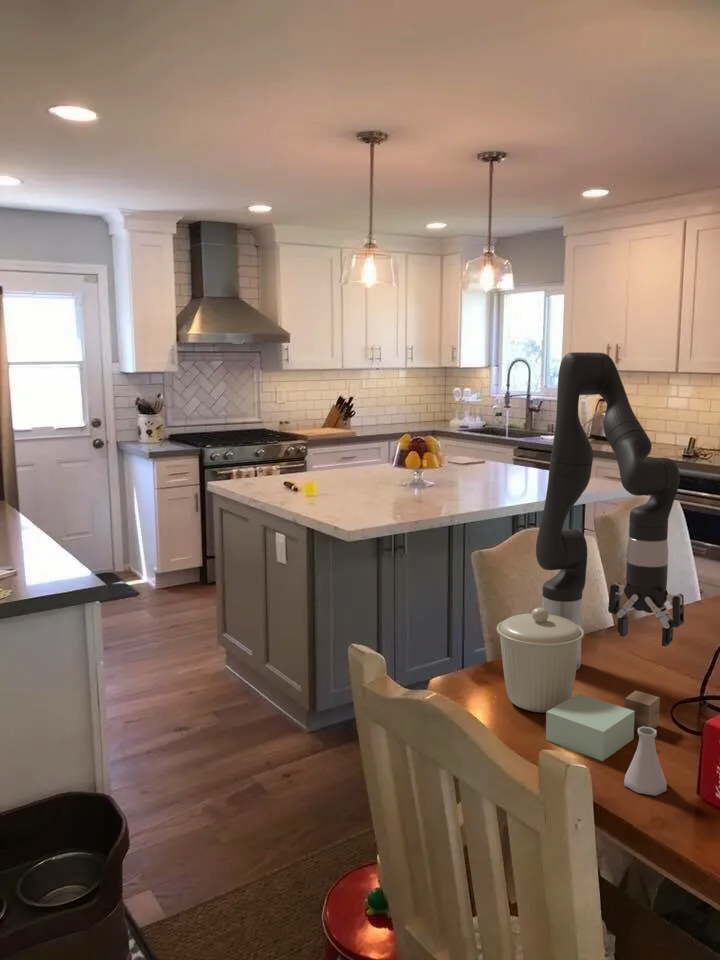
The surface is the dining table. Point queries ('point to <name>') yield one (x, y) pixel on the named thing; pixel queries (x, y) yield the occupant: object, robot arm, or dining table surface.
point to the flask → (646, 766)
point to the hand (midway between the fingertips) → (644, 640)
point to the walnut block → (644, 709)
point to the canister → (539, 659)
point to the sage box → (590, 726)
